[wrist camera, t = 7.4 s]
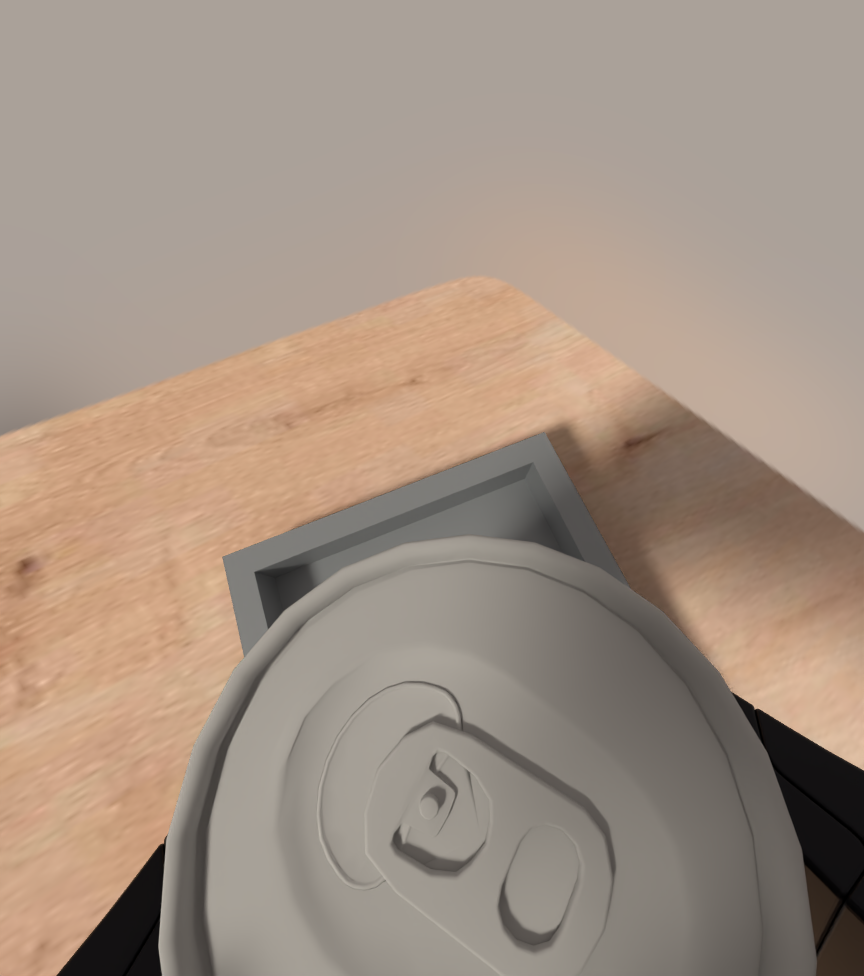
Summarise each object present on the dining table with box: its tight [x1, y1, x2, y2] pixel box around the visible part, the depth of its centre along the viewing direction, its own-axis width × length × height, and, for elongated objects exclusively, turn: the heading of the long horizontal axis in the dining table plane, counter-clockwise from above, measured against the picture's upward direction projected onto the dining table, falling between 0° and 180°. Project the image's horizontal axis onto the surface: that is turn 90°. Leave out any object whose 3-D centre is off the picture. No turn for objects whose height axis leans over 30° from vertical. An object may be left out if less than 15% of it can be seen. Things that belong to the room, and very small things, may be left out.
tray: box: [223, 432, 631, 657], centre depth 18 cm, size 16×16×3 cm
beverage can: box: [158, 534, 817, 976], centre depth 9 cm, size 5×5×12 cm
